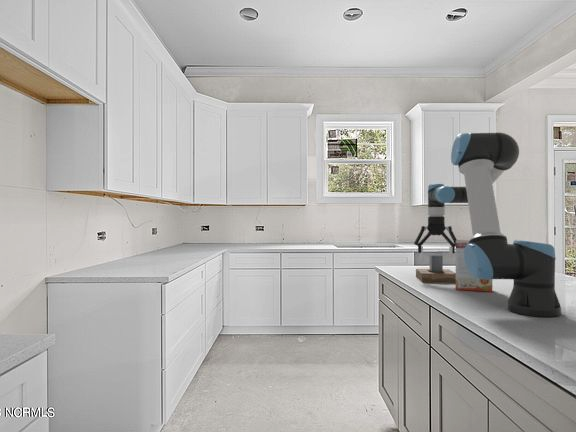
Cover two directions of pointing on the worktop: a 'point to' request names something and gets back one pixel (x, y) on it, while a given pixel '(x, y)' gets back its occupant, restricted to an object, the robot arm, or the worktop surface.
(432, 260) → the peg
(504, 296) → the worktop surface
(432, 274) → the socket plate
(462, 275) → the cracker box
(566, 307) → the worktop surface
